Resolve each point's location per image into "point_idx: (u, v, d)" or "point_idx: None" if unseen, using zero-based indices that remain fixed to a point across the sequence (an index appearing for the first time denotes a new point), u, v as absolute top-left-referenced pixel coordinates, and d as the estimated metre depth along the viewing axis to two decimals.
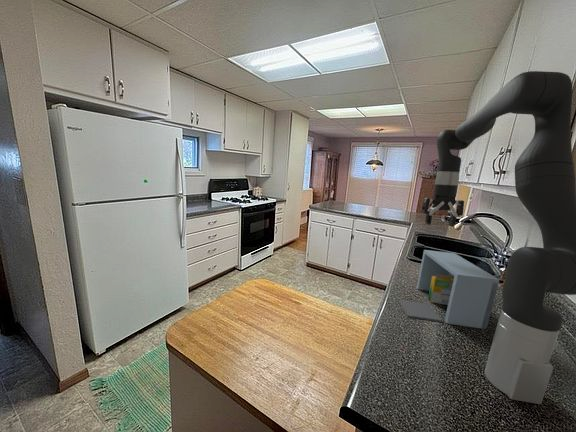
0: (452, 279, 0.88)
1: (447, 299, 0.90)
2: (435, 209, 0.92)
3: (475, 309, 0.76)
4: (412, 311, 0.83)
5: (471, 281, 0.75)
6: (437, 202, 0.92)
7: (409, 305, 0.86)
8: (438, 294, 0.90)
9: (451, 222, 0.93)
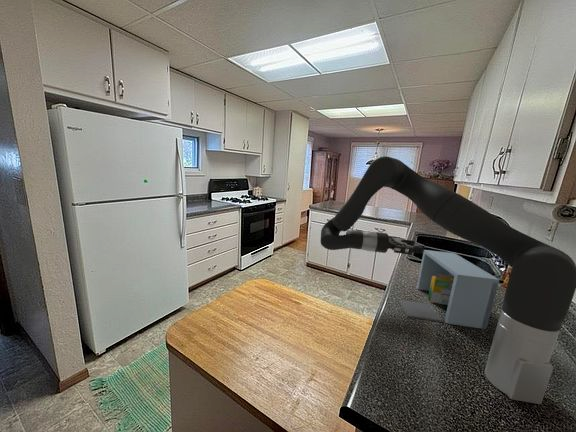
0: (452, 279, 0.88)
1: (447, 299, 0.90)
2: (404, 243, 0.85)
3: (475, 309, 0.76)
4: (412, 311, 0.83)
5: (471, 281, 0.75)
6: (396, 243, 0.86)
7: (409, 305, 0.86)
8: (438, 294, 0.90)
9: (410, 242, 0.92)
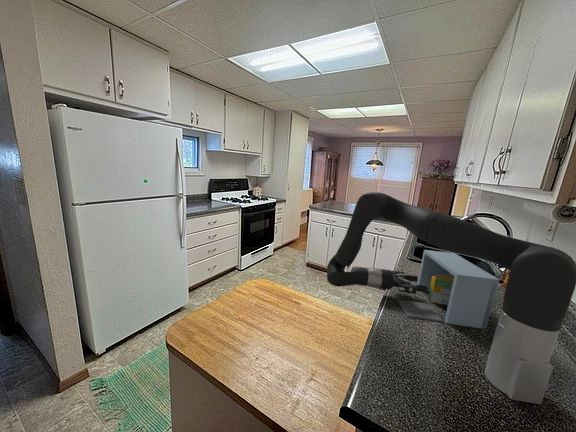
0: (452, 279, 0.88)
1: (447, 299, 0.90)
2: (408, 281, 0.88)
3: (475, 309, 0.76)
4: (412, 311, 0.83)
5: (471, 281, 0.75)
6: (400, 281, 0.89)
7: (409, 305, 0.86)
8: (438, 294, 0.90)
9: (413, 277, 0.95)
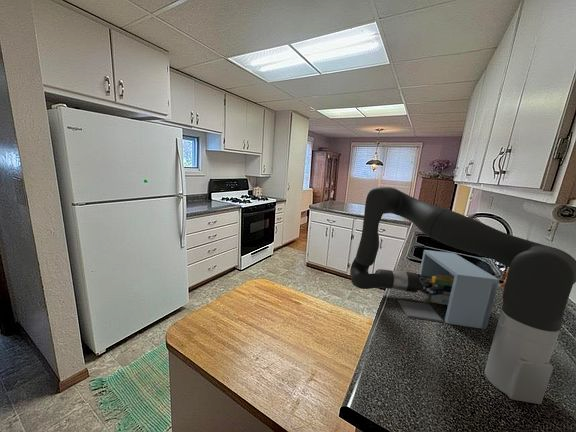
0: (452, 279, 0.88)
1: (447, 299, 0.90)
2: (435, 283, 0.89)
3: (475, 309, 0.76)
4: (412, 311, 0.83)
5: (471, 281, 0.75)
6: (428, 284, 0.88)
7: (409, 305, 0.86)
8: None
9: None
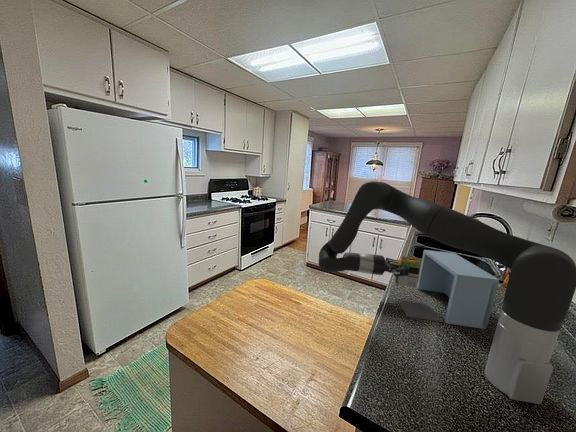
0: (417, 261, 0.88)
1: (413, 281, 0.90)
2: (400, 264, 0.89)
3: (475, 309, 0.76)
4: (412, 311, 0.83)
5: (471, 281, 0.75)
6: (393, 266, 0.89)
7: (409, 305, 0.86)
8: (405, 276, 0.90)
9: None
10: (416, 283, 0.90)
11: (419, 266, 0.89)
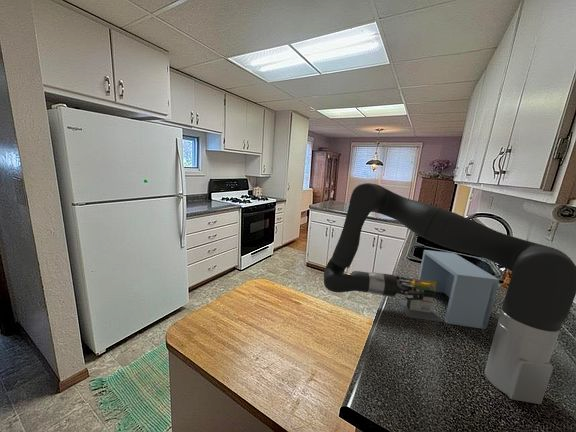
0: (432, 284, 0.81)
1: (427, 306, 0.82)
2: (414, 286, 0.80)
3: (475, 309, 0.76)
4: (412, 311, 0.83)
5: (471, 281, 0.75)
6: (406, 287, 0.81)
7: None
8: (418, 301, 0.82)
9: None
10: (430, 308, 0.82)
11: (434, 290, 0.81)
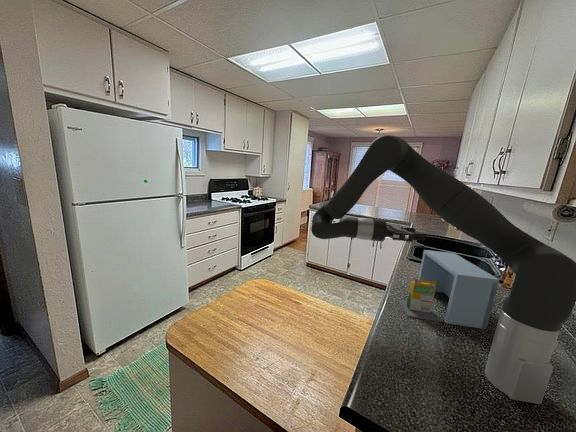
0: (432, 284, 0.81)
1: (427, 306, 0.82)
2: (404, 229, 0.77)
3: (475, 309, 0.76)
4: (412, 311, 0.83)
5: (471, 281, 0.75)
6: (394, 230, 0.78)
7: None
8: (418, 301, 0.82)
9: (410, 229, 0.84)
10: (430, 308, 0.82)
11: (433, 290, 0.81)
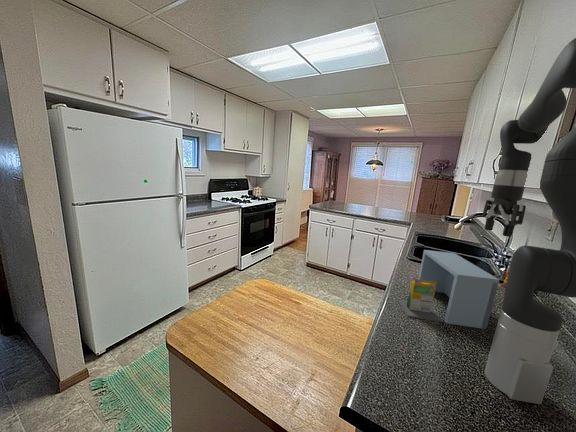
0: (432, 284, 0.81)
1: (427, 306, 0.82)
2: None
3: (475, 309, 0.76)
4: (412, 311, 0.83)
5: (471, 281, 0.75)
6: None
7: None
8: (418, 301, 0.82)
9: (491, 226, 0.84)
10: (430, 308, 0.82)
11: (434, 290, 0.81)
